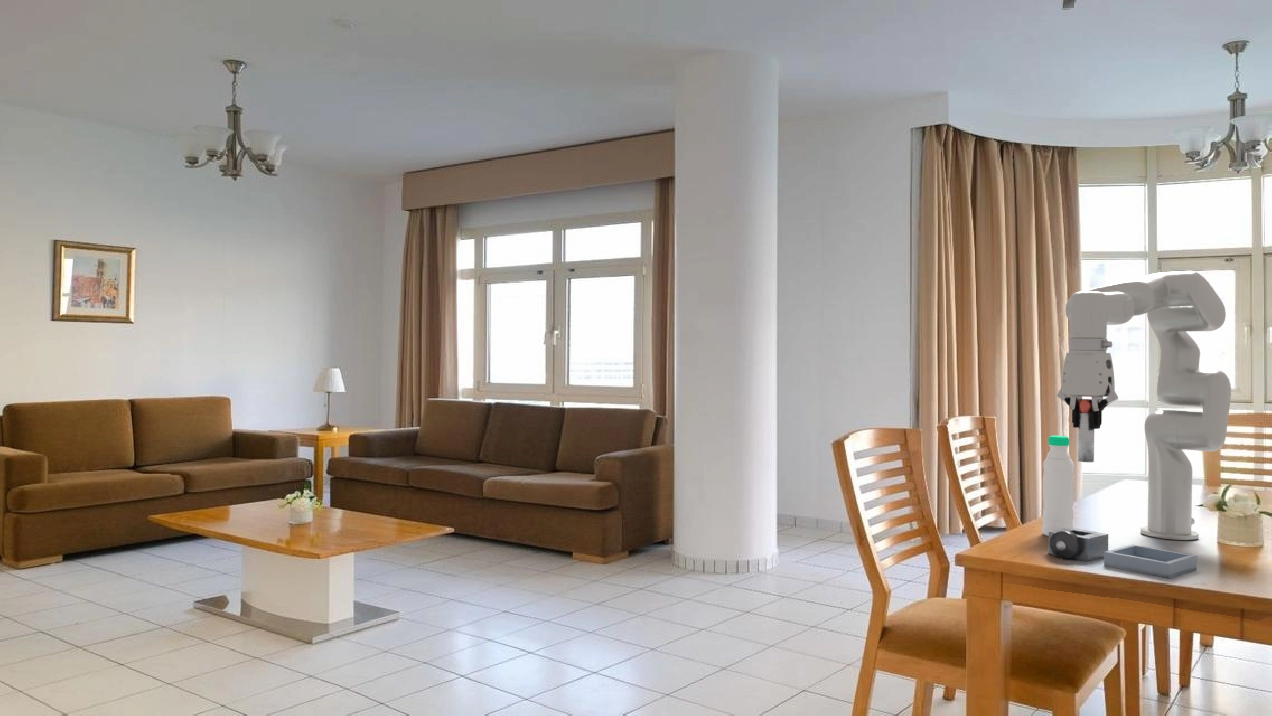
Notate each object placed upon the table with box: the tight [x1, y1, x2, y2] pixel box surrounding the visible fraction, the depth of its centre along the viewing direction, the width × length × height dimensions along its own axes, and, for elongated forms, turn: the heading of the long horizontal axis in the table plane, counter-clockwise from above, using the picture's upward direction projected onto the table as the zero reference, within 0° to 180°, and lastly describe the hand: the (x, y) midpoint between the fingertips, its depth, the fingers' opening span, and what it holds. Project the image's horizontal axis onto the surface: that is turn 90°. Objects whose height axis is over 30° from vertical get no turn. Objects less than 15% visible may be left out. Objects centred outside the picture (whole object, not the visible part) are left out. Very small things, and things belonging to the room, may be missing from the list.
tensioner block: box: [1048, 527, 1109, 562], centre depth 202 cm, size 12×9×6 cm
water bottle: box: [1041, 435, 1075, 537], centre depth 224 cm, size 7×7×25 cm
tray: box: [1103, 544, 1198, 579], centre depth 191 cm, size 13×13×3 cm
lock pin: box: [1077, 398, 1095, 463], centre depth 201 cm, size 3×3×14 cm
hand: (1086, 427), depth 201 cm, fingers closed on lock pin, 3 cm apart
